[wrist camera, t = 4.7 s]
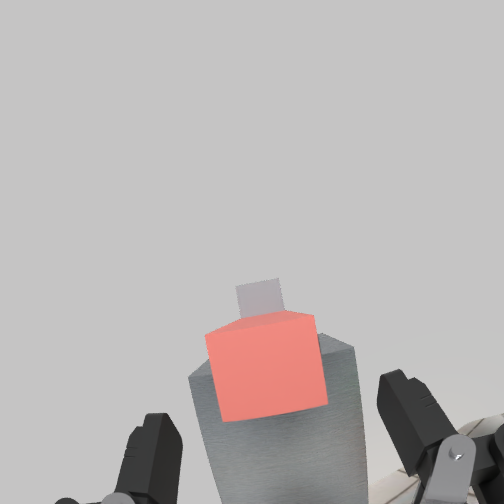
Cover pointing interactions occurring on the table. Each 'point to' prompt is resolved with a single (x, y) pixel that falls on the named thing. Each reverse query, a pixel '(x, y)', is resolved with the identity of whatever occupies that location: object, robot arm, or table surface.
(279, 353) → the lever
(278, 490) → the box
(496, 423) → the table surface
